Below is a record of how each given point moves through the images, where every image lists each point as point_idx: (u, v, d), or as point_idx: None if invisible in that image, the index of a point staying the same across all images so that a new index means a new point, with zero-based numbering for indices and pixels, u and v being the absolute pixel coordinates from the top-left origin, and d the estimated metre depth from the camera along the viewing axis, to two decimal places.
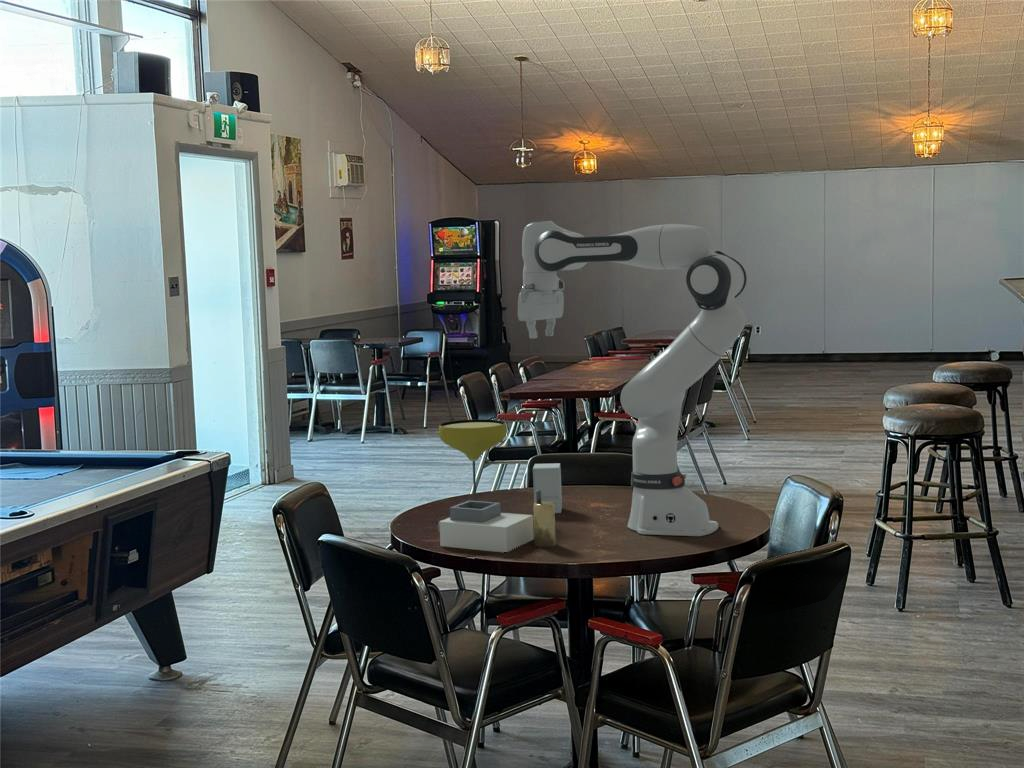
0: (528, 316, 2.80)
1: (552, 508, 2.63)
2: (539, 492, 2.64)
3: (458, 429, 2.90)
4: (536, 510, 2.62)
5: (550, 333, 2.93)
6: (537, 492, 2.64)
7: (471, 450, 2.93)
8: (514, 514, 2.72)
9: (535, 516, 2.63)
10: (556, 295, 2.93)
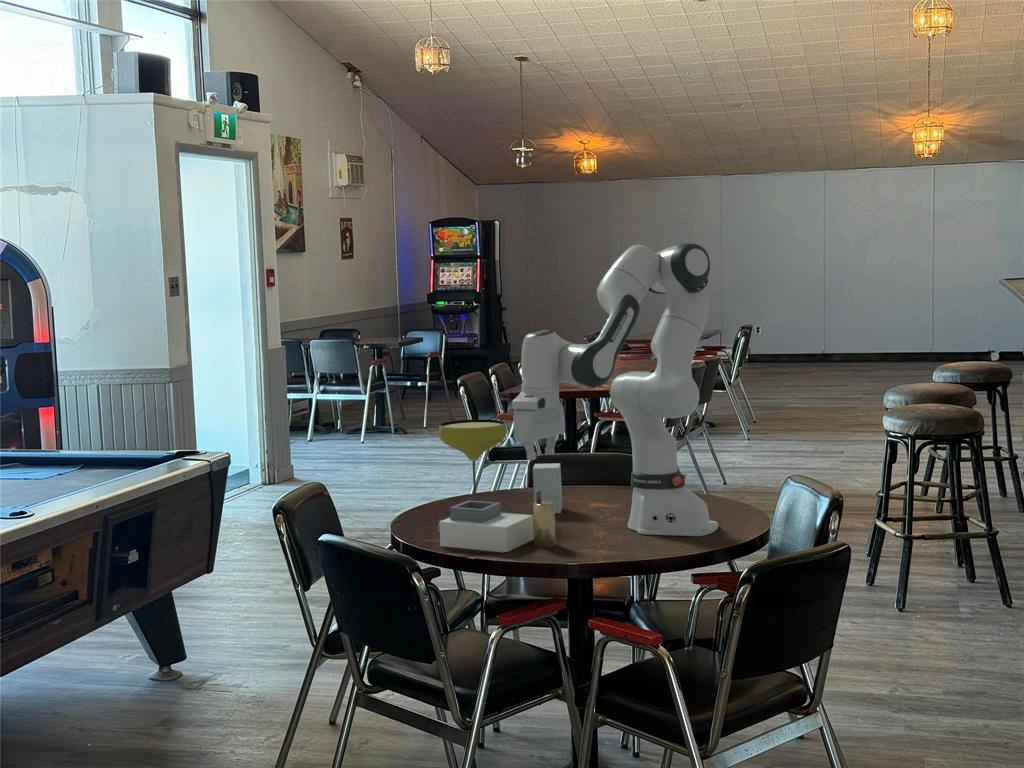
0: None
1: (552, 508, 2.63)
2: (539, 492, 2.64)
3: (458, 429, 2.90)
4: (536, 510, 2.62)
5: None
6: (537, 492, 2.64)
7: (471, 450, 2.93)
8: (514, 514, 2.72)
9: (535, 516, 2.63)
10: None
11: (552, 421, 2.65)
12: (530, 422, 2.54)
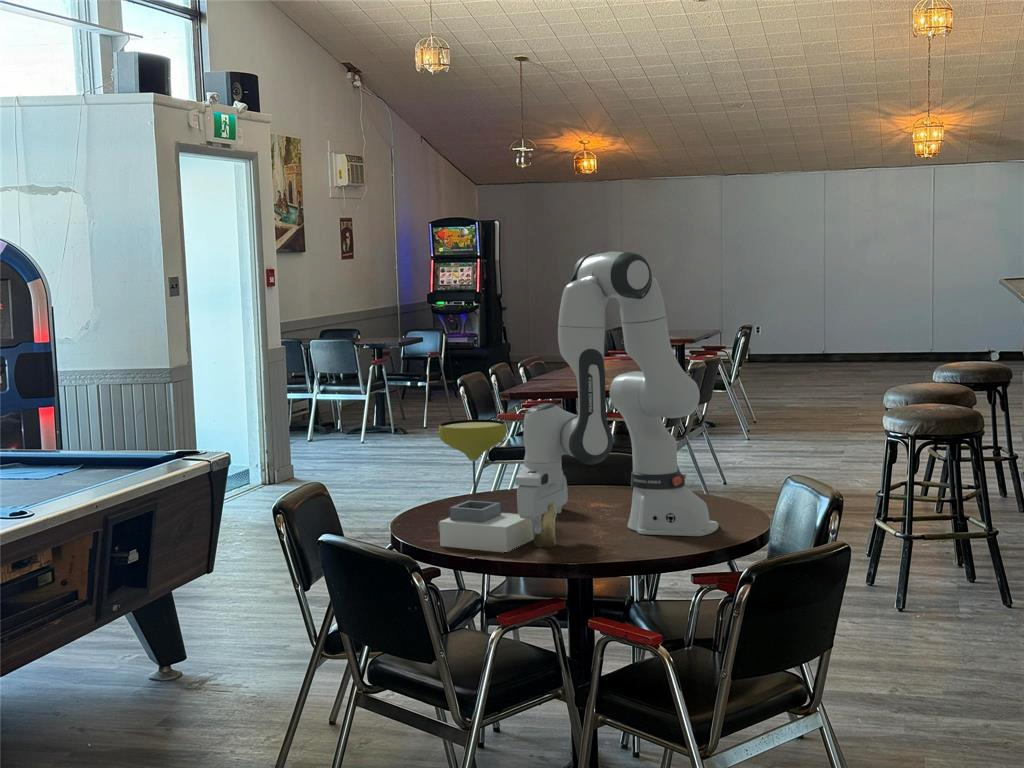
0: None
1: (552, 508, 2.63)
2: None
3: (458, 429, 2.90)
4: None
5: None
6: None
7: (471, 450, 2.93)
8: (514, 514, 2.72)
9: None
10: None
11: (555, 494, 2.65)
12: (534, 499, 2.54)
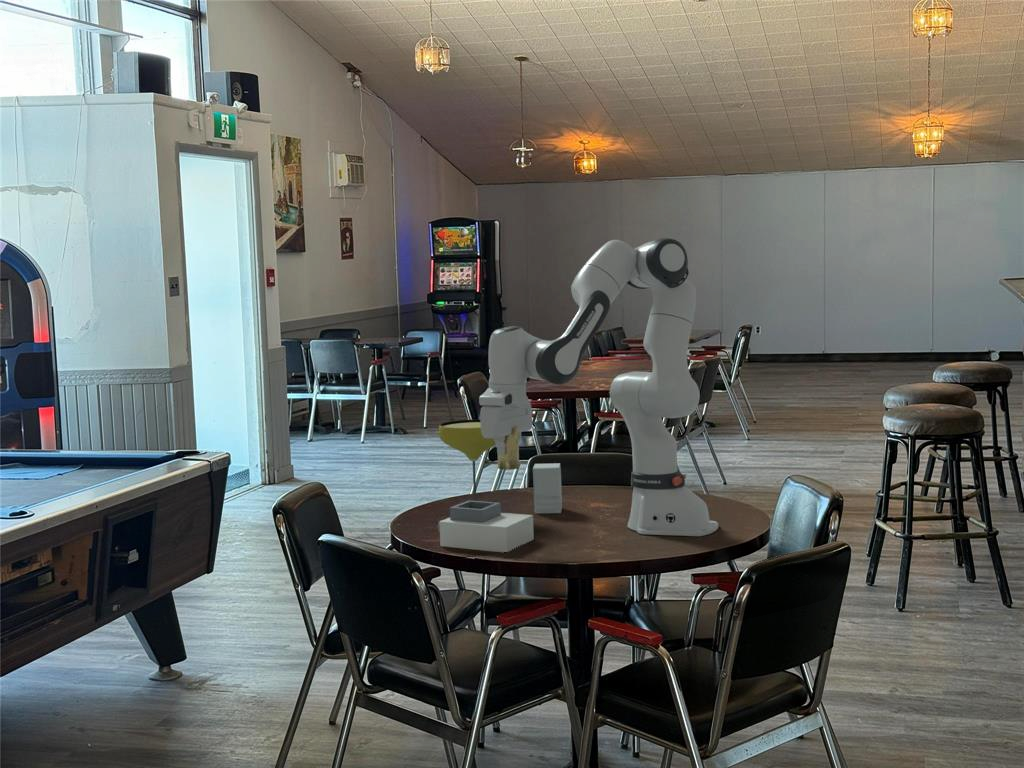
0: None
1: (516, 430, 2.63)
2: None
3: (458, 429, 2.90)
4: None
5: None
6: None
7: (471, 450, 2.93)
8: (514, 514, 2.72)
9: None
10: None
11: (519, 417, 2.66)
12: (497, 418, 2.55)
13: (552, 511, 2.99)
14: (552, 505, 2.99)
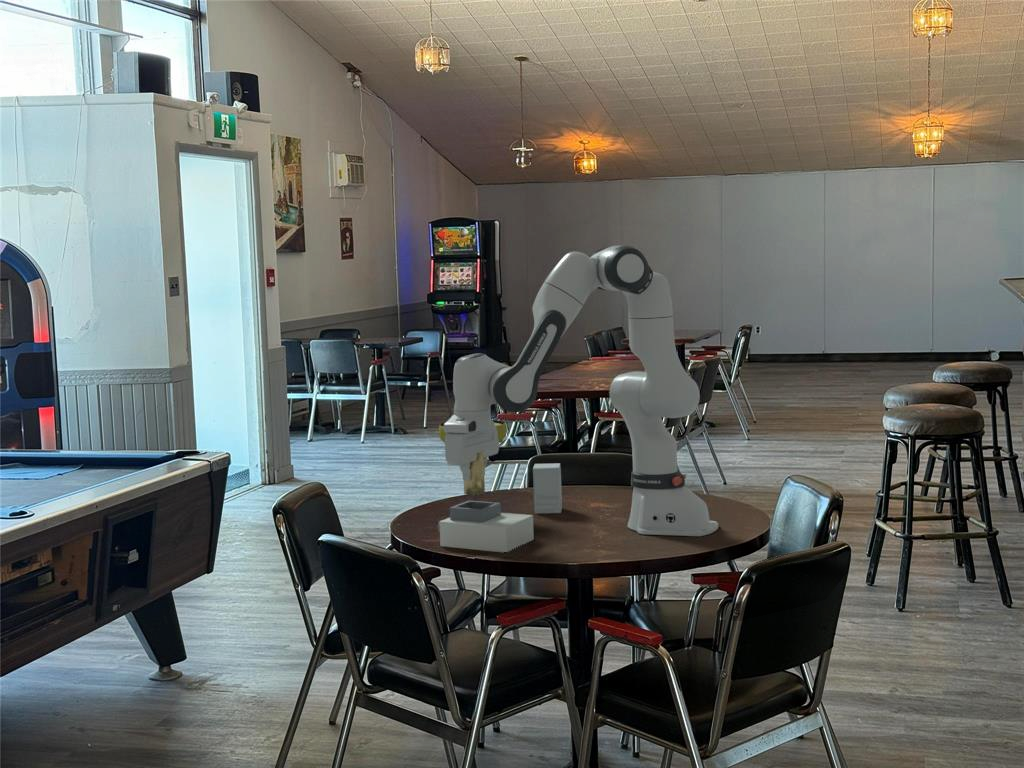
0: None
1: (481, 456, 2.67)
2: None
3: None
4: None
5: None
6: None
7: None
8: (514, 514, 2.72)
9: None
10: None
11: (484, 443, 2.69)
12: (461, 445, 2.59)
13: (552, 511, 2.99)
14: (552, 505, 2.99)
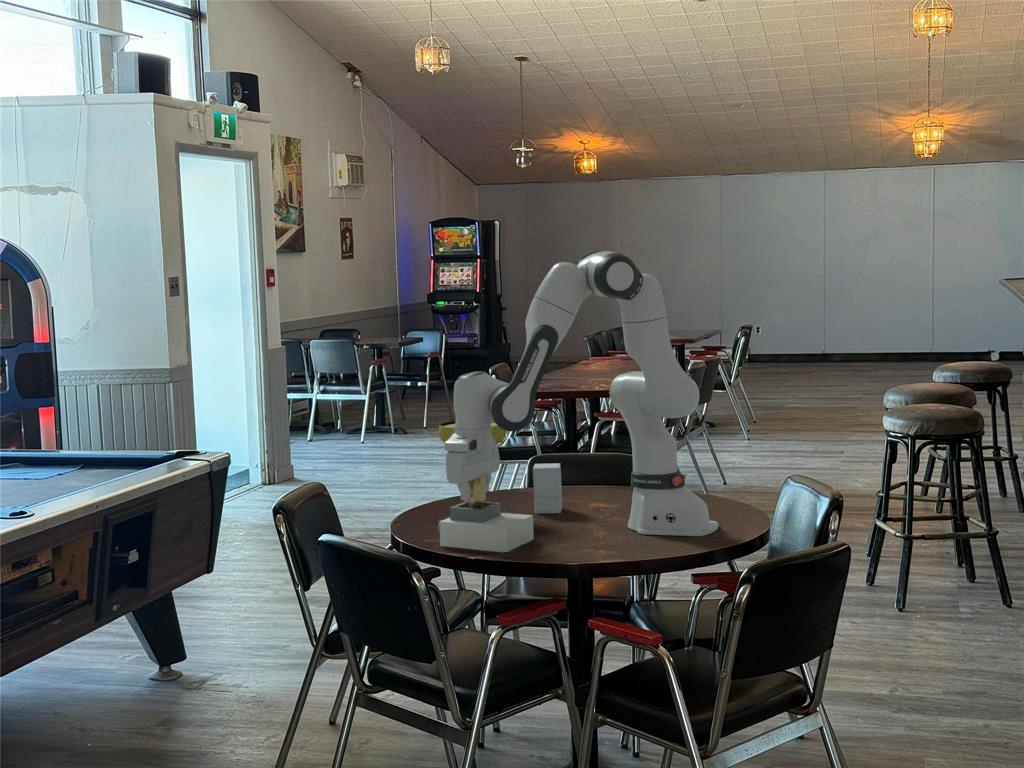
0: None
1: (482, 480, 2.67)
2: None
3: None
4: None
5: None
6: None
7: None
8: (514, 514, 2.72)
9: None
10: None
11: (485, 460, 2.70)
12: (462, 464, 2.59)
13: (552, 511, 2.99)
14: (552, 505, 2.99)
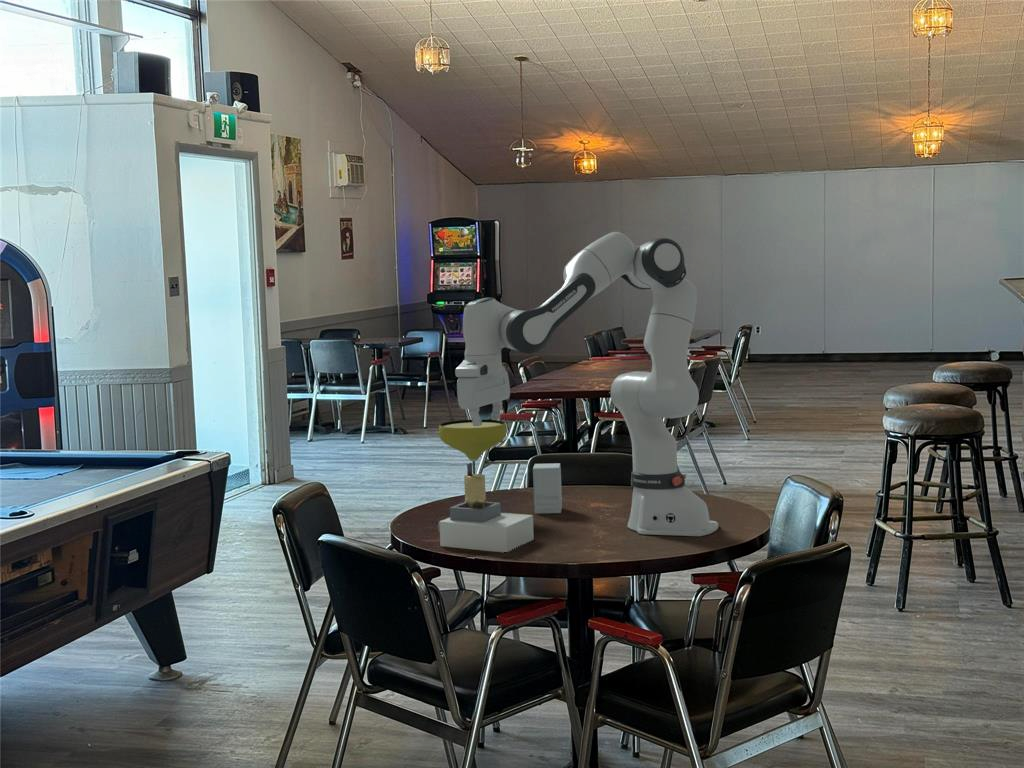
0: None
1: (482, 480, 2.67)
2: (470, 464, 2.69)
3: (458, 429, 2.90)
4: (467, 482, 2.67)
5: None
6: (468, 464, 2.69)
7: (471, 450, 2.93)
8: (514, 514, 2.72)
9: (466, 488, 2.68)
10: None
11: (496, 387, 2.70)
12: (473, 389, 2.59)
13: (552, 511, 2.99)
14: (552, 505, 2.99)
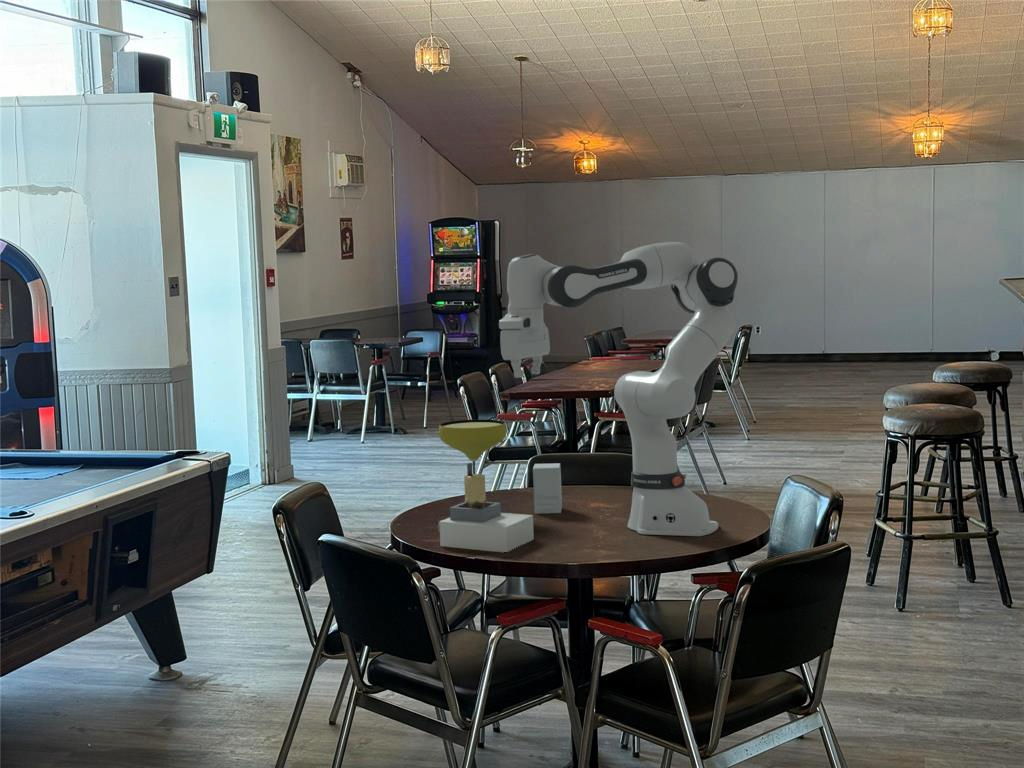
0: None
1: (482, 480, 2.67)
2: (470, 464, 2.68)
3: (458, 429, 2.90)
4: (467, 482, 2.67)
5: None
6: (468, 464, 2.68)
7: (471, 450, 2.93)
8: (514, 514, 2.72)
9: (466, 488, 2.68)
10: None
11: (537, 342, 2.78)
12: (516, 340, 2.67)
13: (552, 511, 2.99)
14: (552, 505, 2.99)
